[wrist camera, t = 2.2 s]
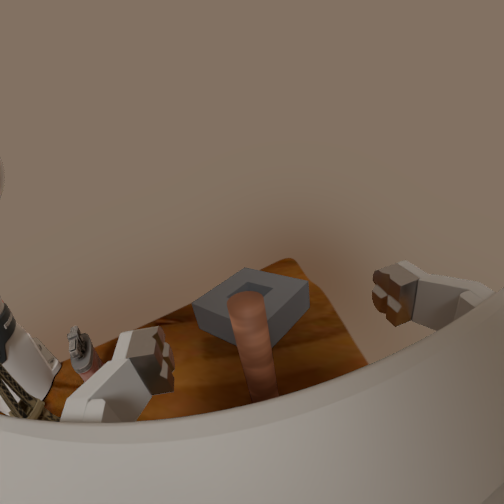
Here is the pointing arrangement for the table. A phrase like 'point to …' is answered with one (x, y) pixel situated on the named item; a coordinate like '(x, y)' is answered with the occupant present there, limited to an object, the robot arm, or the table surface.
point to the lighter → (83, 354)
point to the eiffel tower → (22, 400)
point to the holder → (275, 299)
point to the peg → (253, 344)
